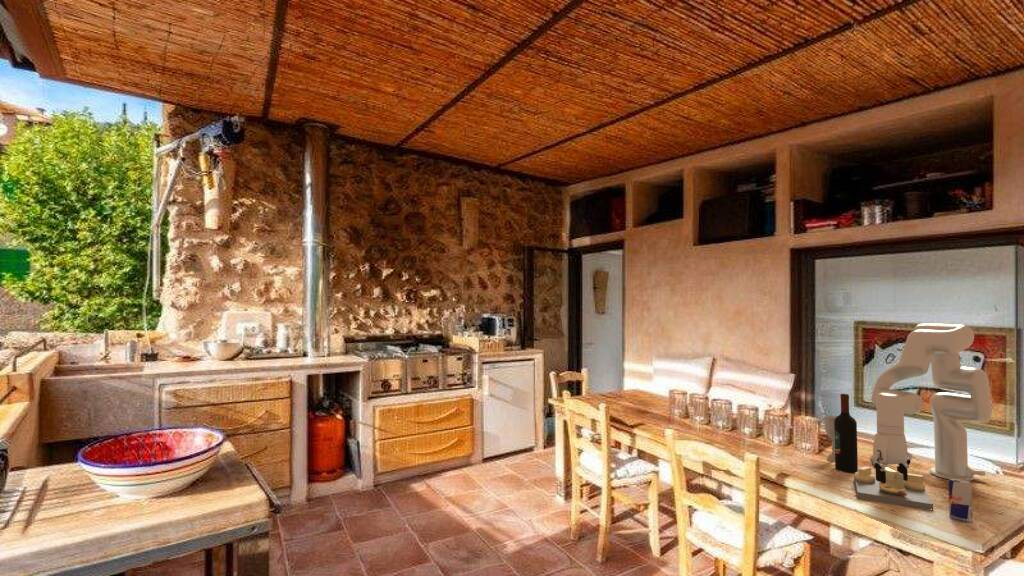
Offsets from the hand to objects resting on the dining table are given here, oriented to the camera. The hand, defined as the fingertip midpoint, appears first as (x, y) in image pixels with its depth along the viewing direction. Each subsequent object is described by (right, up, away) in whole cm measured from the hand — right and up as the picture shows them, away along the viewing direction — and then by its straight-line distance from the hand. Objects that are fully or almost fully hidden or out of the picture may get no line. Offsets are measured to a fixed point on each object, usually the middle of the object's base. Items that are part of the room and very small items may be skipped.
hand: (891, 480), depth 171 cm
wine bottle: (+3, -7, +28) cm, 29 cm away
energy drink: (+8, -6, -17) cm, 20 cm away
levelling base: (+2, -6, +3) cm, 7 cm away
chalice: (+6, -7, +41) cm, 42 cm away
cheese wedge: (0, -4, -1) cm, 4 cm away
